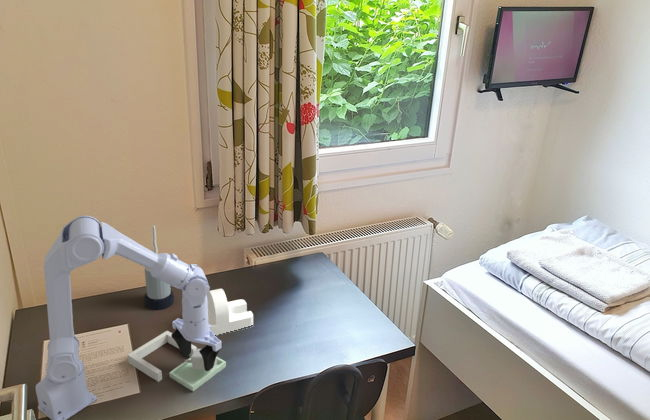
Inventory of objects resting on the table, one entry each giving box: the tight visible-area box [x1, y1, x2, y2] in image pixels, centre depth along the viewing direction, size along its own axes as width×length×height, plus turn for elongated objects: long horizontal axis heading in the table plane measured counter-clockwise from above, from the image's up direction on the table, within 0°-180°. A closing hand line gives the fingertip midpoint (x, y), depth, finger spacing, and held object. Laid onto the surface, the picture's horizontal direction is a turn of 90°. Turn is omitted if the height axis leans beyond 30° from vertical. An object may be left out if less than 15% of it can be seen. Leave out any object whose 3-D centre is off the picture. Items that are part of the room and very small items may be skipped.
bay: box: [127, 330, 198, 383], centre depth 130 cm, size 12×11×2 cm
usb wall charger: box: [184, 348, 217, 371], centre depth 126 cm, size 4×7×4 cm, turn 74°
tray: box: [169, 355, 227, 393], centre depth 127 cm, size 11×8×2 cm
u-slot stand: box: [181, 288, 254, 336], centre depth 143 cm, size 10×18×11 cm, turn 117°
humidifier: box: [144, 225, 175, 311], centre depth 148 cm, size 8×8×25 cm
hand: (197, 362), depth 126 cm, fingers closed on usb wall charger, 7 cm apart
